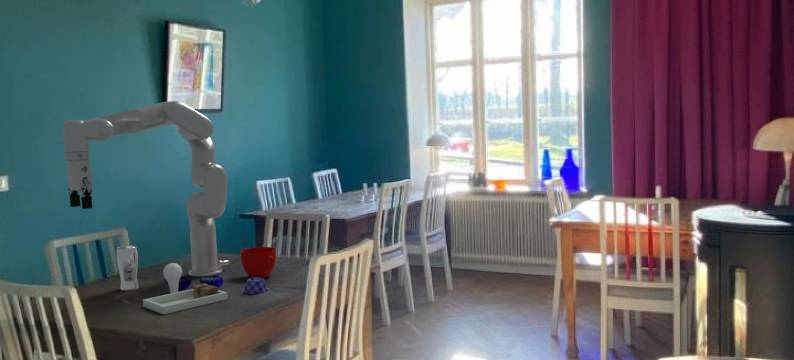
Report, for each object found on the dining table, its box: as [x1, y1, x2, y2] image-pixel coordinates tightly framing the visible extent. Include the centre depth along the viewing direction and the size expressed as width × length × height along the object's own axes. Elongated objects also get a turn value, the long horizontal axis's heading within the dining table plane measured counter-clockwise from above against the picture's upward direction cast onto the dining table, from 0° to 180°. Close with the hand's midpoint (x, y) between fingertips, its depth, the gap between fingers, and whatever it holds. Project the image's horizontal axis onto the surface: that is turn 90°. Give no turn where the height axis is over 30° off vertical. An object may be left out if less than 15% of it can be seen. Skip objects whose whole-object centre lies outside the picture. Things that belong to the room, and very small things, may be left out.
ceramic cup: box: [240, 246, 277, 279], centre depth 264 cm, size 13×17×10 cm
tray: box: [142, 288, 229, 315], centre depth 228 cm, size 22×14×3 cm, turn 134°
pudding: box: [243, 277, 271, 295], centre depth 240 cm, size 12×12×5 cm
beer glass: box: [116, 244, 139, 292], centre depth 253 cm, size 7×7×15 cm
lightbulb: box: [162, 262, 183, 294], centre depth 242 cm, size 6×6×11 cm
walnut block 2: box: [200, 285, 219, 297], centre depth 231 cm, size 4×4×4 cm
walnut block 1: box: [192, 282, 210, 298], centre depth 234 cm, size 4×4×4 cm
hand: (81, 207), depth 241 cm, fingers open, 9 cm apart
